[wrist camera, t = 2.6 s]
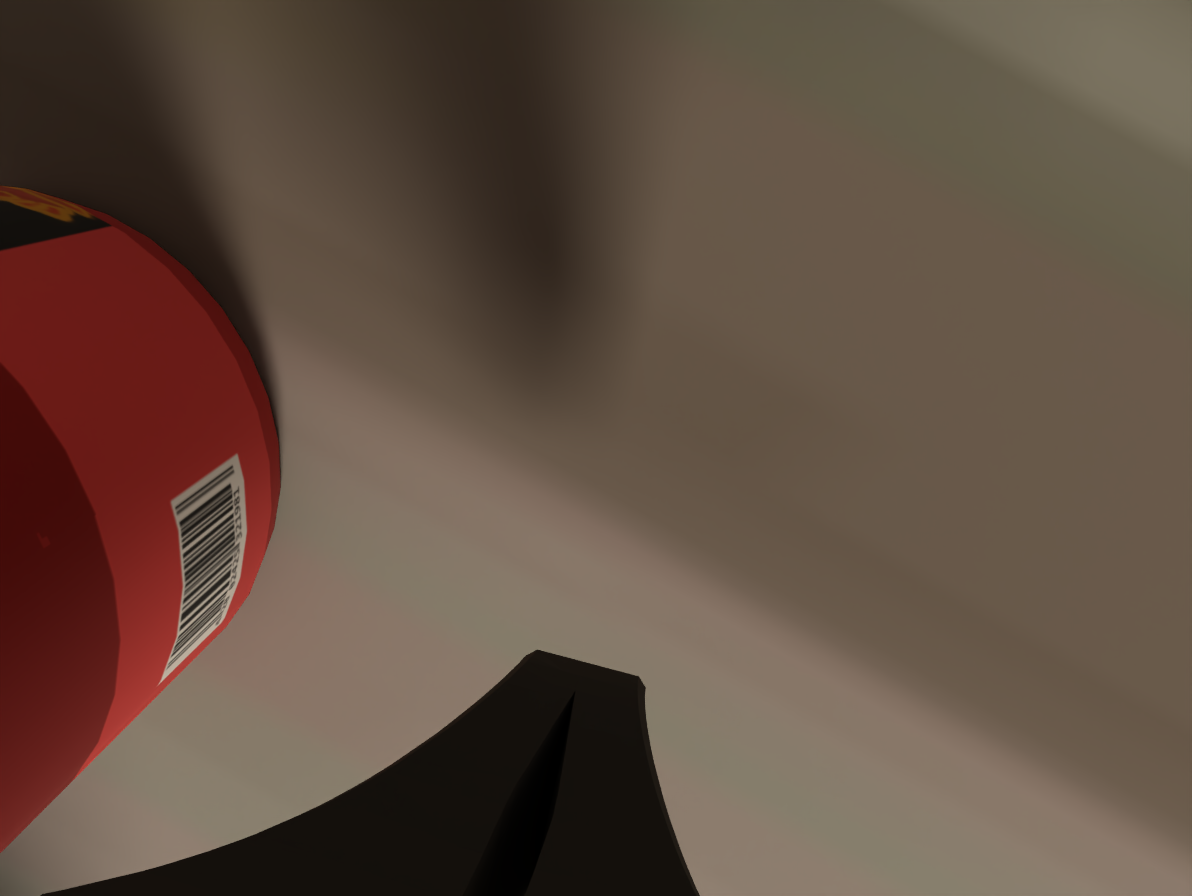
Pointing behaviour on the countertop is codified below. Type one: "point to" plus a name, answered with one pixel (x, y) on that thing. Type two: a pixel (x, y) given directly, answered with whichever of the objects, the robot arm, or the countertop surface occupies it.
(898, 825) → the countertop surface
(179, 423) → the canned food
